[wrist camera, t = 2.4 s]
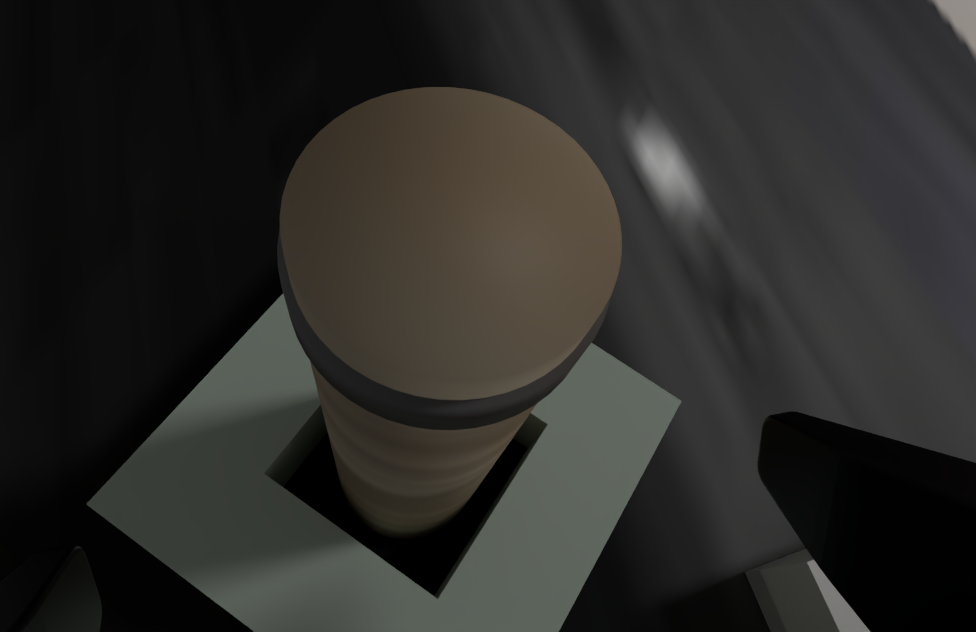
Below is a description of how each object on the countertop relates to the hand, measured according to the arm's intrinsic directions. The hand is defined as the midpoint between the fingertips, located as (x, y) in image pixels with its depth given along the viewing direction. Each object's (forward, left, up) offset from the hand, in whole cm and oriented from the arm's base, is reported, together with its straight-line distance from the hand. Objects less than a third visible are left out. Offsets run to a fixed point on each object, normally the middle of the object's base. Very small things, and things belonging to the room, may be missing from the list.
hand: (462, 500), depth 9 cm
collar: (+2, +2, -9) cm, 10 cm away
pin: (+2, +2, -9) cm, 10 cm away
